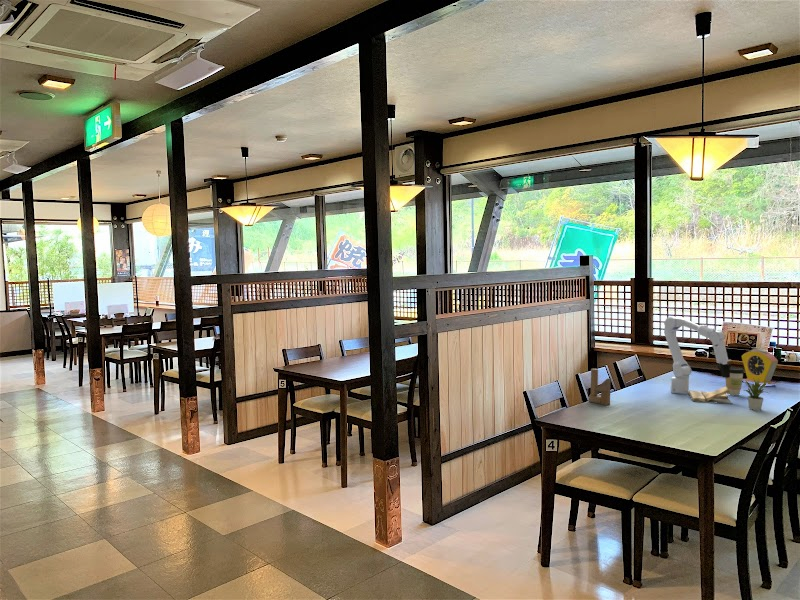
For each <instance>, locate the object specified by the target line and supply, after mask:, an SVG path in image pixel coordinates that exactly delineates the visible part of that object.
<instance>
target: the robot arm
mask: <svg viewBox="0 0 800 600" xmlns="http://www.w3.org/2000/svg"><path fill="white" fill-rule="evenodd" d="M663 324H664V331H663V333H664V336H665V339H666V342H667V345H668V349H669V352H670V354H671V357H672V359H673V363H672V368H673V369H672V373H673V375H674V376H671V377H670V391H671V393H672V394H682V393H684V395H689V389H690V385H689V384H690V375H692V374H691V373H692V368H691V366H690V365H689V364H688V362H687V361H686V360H685V359H684V355H683V353H682V350H681V348H680V344H679V341H678V338H677V336H676V333H677V331H678V330H679V329H680V328H681V327H686V328H688V329H691V330H693V331H696V332H697V334H698V335H700V336H702V337H704V338H707V339H708V340H709V341H710V342H711V344H712V347H713V351H714V357H715V360H716V363H717V365H716V367H717V368H718V370H719V372H720V374H721V376H722V378H729V377H730V367H732V366H731V365H732V364H731V363H728V362H730V361H732V359H729V357H728V352H727V348H726V345H725V341H724V339H725V334H724V332H723V331H721V329H718V330H717V329H716V328H712V327H709V325H708V324H701V325H699V324H697V323H695V322H692V321H691V320H689V319H687V318H685V317H682V316H679V315H678V316H677V315H676V316H668V317H666V319H665V320H664V322H663ZM718 364H719V365H718Z"/></svg>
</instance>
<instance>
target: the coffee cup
mask: <svg viewBox="0 0 800 600" xmlns="http://www.w3.org/2000/svg"><path fill="white" fill-rule="evenodd" d="M744 374H745V371H744V369H743V368H741V367H733V366H730V377H729V378H725V377H724V378H725V379H724V380H725V386H726V387H727V388H728V390H729V391H730V392H729V393H726V395H727V394H730V395H729V396H731V395H739V394H740V393H741V390H742V384H743V382H742V379H744V378H743V377H744Z"/></svg>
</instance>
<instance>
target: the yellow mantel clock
mask: <svg viewBox="0 0 800 600" xmlns="http://www.w3.org/2000/svg"><path fill="white" fill-rule="evenodd" d="M741 360H742V363H743V367H744V370H745V371H744V372H745V375H746V378H743V379H742V380H746V381H751V382H754V379H755V382H756V381H757V380H758V379H759V383H766V382H768V383H771V380H772V377H773V376H774V372H775V371H776V368H777V367H778V366H777V365H778V364H779V363H778V362H779V360H778V359H777V358H776V356H774V355H773V354H772V353H770V352H768V351H767V350H765V349H763V348H755V349H751V350H750V351H746V352H745V353H743V354H742V355H741ZM753 378H754V379H753ZM772 383H773V384H776V383H775V382H772Z"/></svg>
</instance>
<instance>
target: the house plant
mask: <svg viewBox="0 0 800 600" xmlns="http://www.w3.org/2000/svg"><path fill="white" fill-rule="evenodd" d="M753 379H754V378H753ZM745 381H746V380H745ZM754 382H755V379H754ZM766 383H768V382H766ZM766 383H764V384H763V385H762V386H760V385H761V384H759V379H758V380H757V381H756V382H755V385H754V384H749V383H748V382H747V381H746V383H744V384H745V385H746V386H747V389H744V390H743V391H745V392H747V393H748V394H749V396H747V402H748V404H747V405H748V409H749V408H750V409H753V410H752V411H754V410H760V411H762V406H763V402H764V397H763V396H762V397H761V396H760V395H761V394H763V395H764V394H765V393H768V394H770V393H771V392H769V391H766V392H764V390H765V388H767V387H766V386H765V385H766ZM773 383H774V382H772V383H768V384H773ZM764 386H765V387H764ZM750 409H749V410H750Z"/></svg>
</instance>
